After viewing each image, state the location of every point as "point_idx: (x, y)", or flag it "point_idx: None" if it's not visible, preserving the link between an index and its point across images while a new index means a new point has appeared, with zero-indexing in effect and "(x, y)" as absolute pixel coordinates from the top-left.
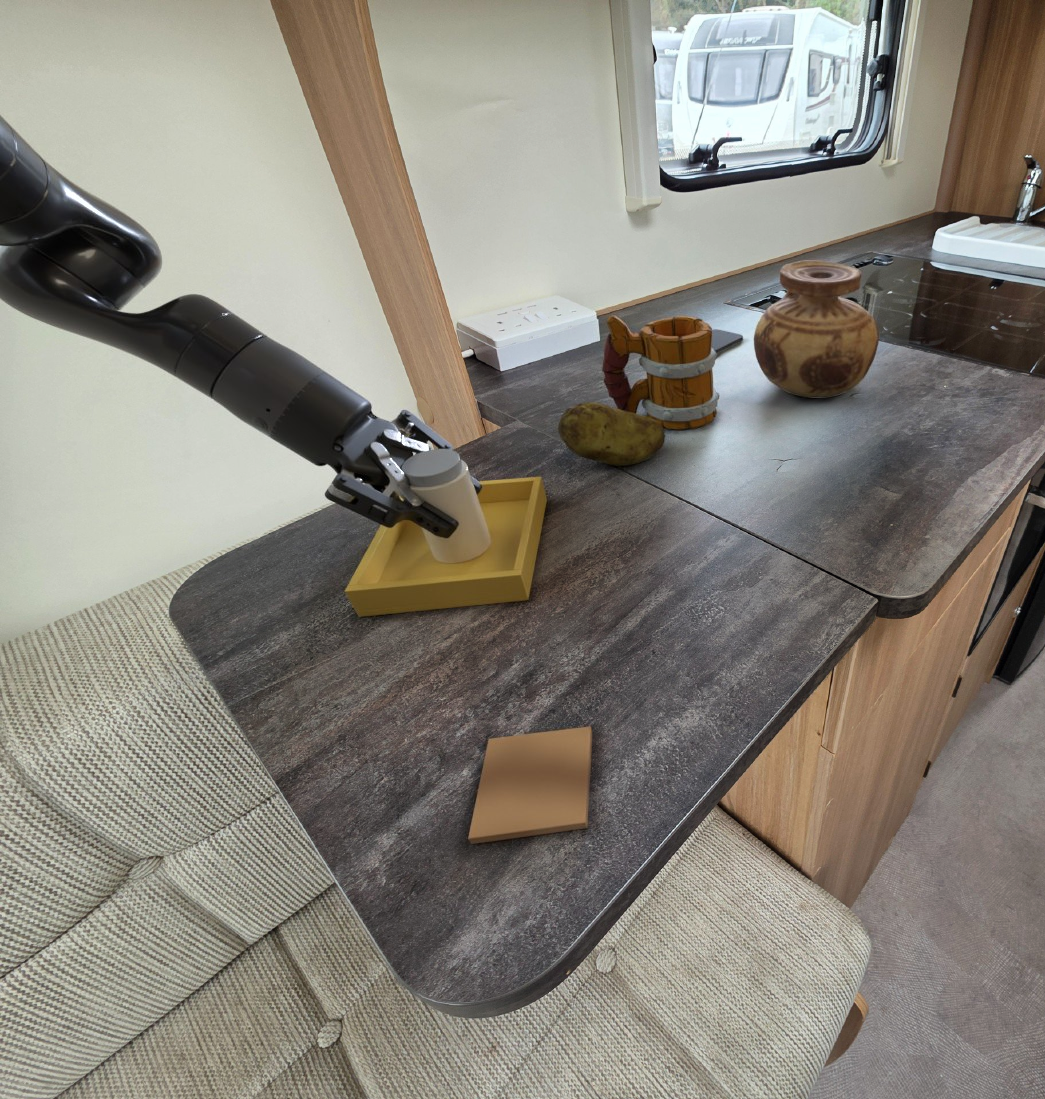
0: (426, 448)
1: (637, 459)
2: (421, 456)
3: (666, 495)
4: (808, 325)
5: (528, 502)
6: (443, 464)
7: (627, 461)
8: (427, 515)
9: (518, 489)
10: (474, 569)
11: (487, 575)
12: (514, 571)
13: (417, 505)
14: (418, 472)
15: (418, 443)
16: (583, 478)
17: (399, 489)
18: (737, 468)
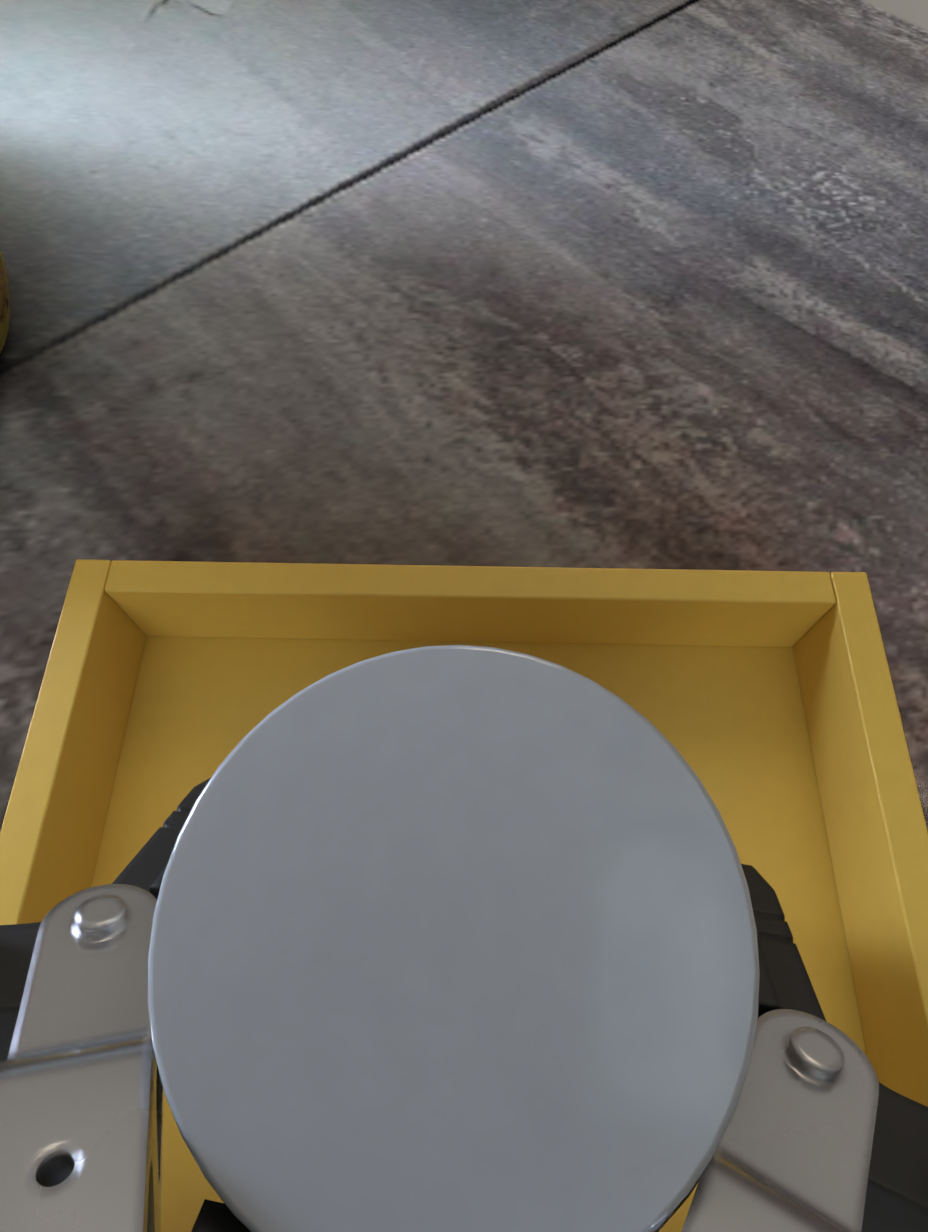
0: (75, 1071)
1: (8, 281)
2: (290, 1079)
3: (253, 248)
4: None
5: (165, 675)
6: (525, 772)
7: (9, 308)
8: (785, 978)
9: (104, 689)
10: None
11: (881, 702)
12: (848, 595)
13: (836, 1032)
14: (672, 1015)
15: (10, 1178)
16: (14, 491)
17: (860, 1224)
18: (164, 84)
